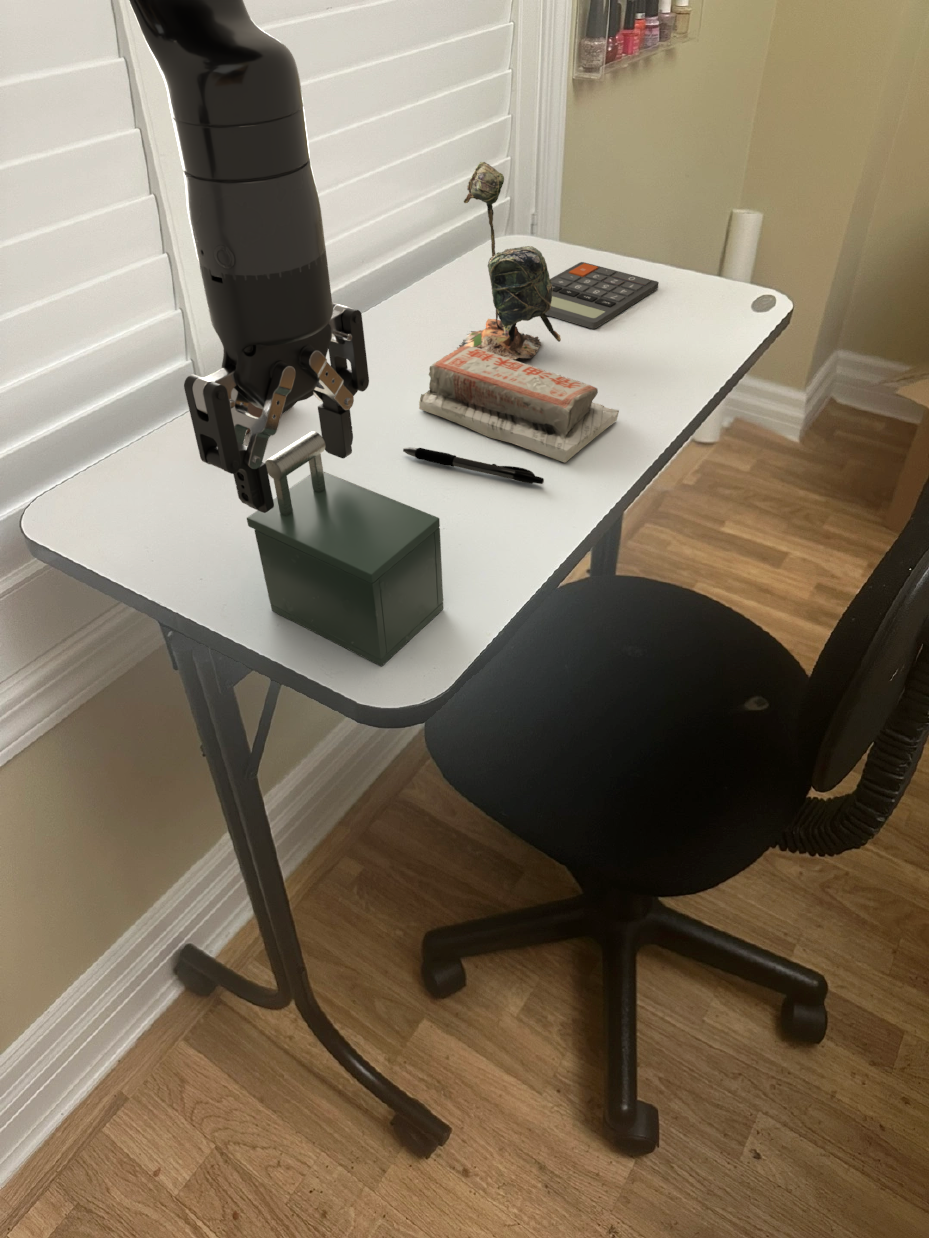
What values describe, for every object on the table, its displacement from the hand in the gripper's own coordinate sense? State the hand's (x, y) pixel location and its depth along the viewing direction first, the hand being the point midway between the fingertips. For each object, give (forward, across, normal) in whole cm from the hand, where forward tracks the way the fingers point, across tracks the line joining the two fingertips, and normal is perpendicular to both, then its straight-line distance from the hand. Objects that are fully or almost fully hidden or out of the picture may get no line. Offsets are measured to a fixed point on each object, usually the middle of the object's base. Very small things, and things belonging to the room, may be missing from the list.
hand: (300, 479), depth 64 cm
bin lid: (+3, 0, +4) cm, 5 cm away
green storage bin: (+10, 0, +4) cm, 11 cm away
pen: (+10, -21, 0) cm, 23 cm away
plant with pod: (+11, -43, -10) cm, 46 cm away
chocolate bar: (+10, -17, -24) cm, 31 cm away
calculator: (+10, -61, -10) cm, 63 cm away
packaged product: (+11, -31, -2) cm, 33 cm away
